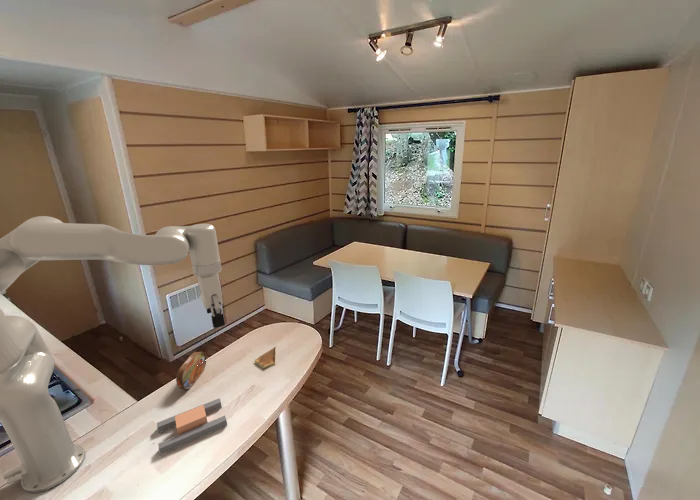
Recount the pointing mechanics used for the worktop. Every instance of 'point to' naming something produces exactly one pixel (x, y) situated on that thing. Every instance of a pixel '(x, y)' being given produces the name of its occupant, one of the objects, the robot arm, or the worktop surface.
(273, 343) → the worktop surface
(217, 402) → the chute
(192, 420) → the block
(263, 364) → the shard
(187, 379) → the tin
